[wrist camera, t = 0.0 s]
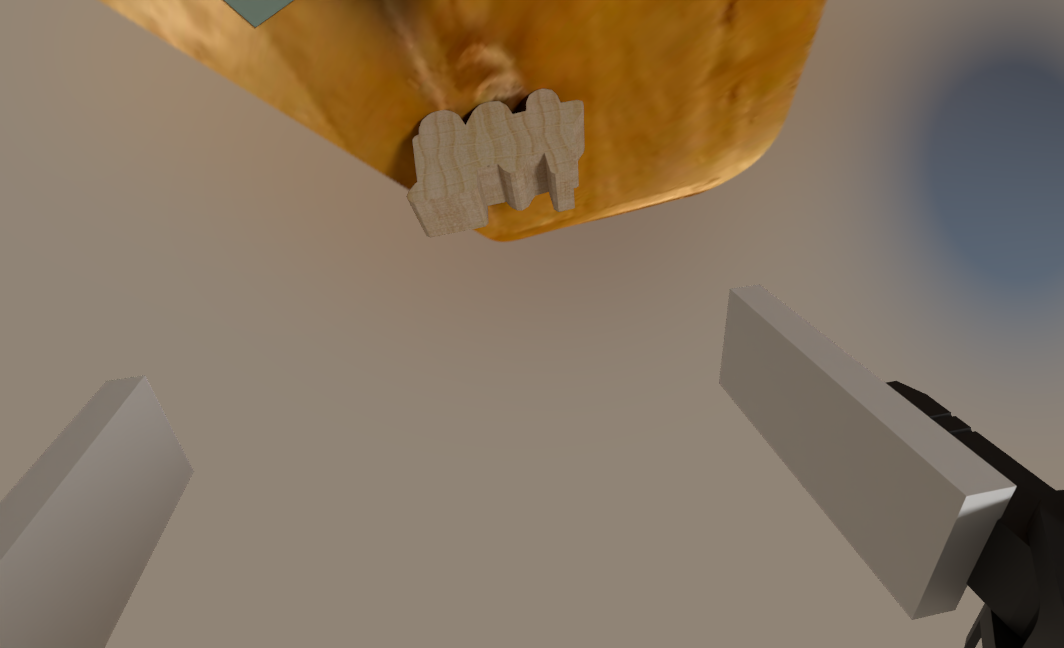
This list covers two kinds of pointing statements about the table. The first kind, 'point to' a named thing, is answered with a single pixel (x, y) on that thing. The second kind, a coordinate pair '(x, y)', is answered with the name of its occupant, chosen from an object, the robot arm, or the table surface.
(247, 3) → the card
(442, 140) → the toy train
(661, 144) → the table surface
